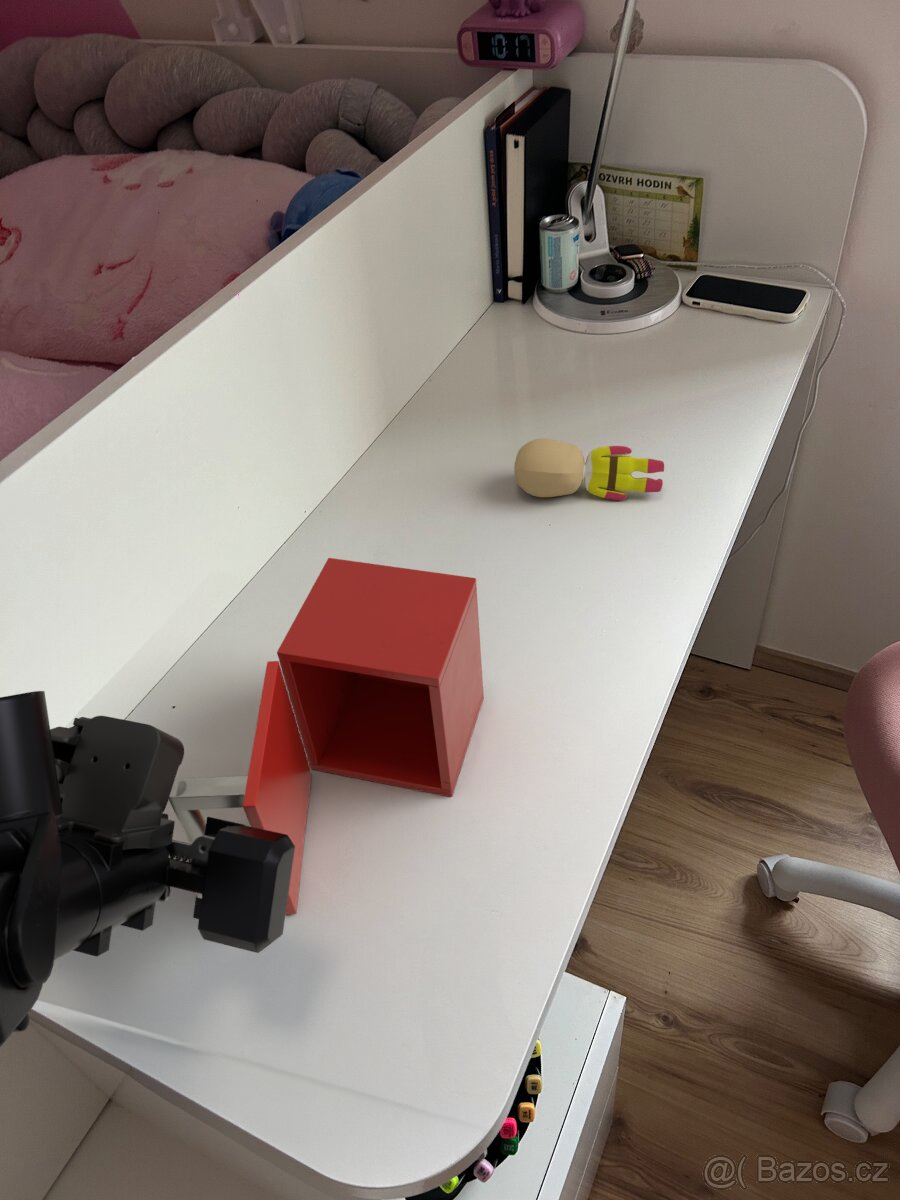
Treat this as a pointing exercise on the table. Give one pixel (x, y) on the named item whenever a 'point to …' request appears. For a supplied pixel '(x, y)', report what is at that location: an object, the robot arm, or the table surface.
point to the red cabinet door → (260, 780)
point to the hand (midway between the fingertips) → (205, 829)
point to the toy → (582, 470)
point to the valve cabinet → (386, 674)
